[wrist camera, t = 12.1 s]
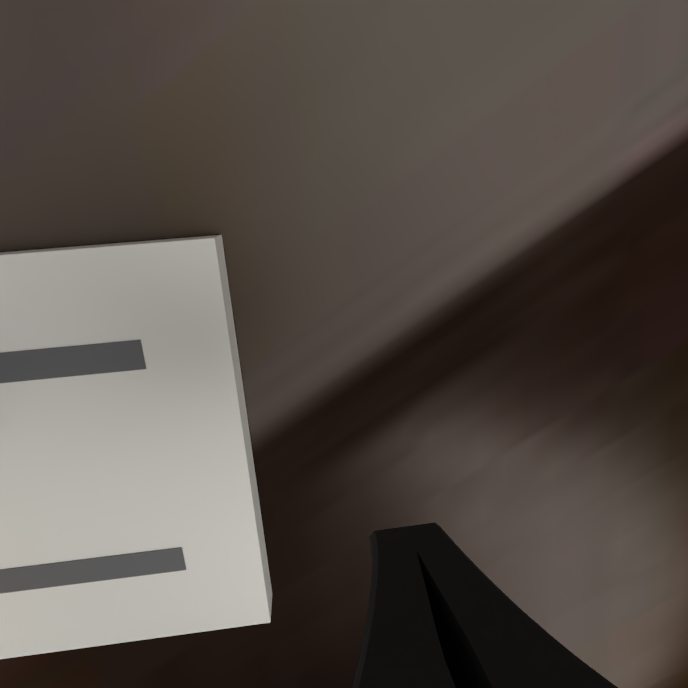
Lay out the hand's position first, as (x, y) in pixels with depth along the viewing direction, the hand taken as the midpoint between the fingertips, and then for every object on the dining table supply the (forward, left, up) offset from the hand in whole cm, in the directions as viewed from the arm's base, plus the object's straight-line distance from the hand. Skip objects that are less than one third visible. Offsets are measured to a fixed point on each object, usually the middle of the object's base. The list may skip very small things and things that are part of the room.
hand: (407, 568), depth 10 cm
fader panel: (-1, +13, -9) cm, 16 cm away
